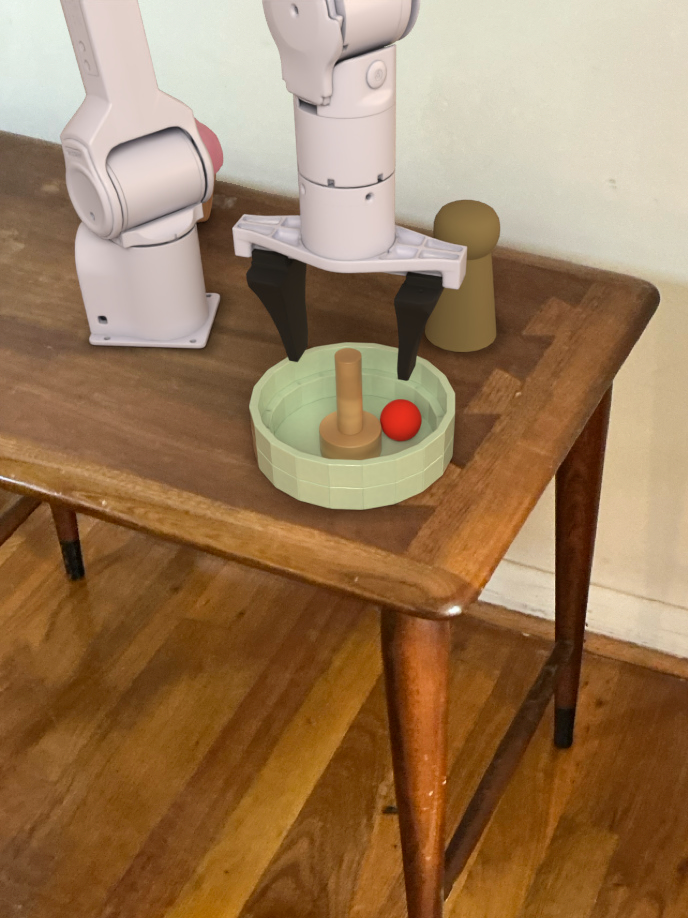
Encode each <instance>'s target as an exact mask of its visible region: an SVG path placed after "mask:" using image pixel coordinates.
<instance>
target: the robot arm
mask: <svg viewBox="0 0 688 918" xmlns="http://www.w3.org/2000/svg"><path fill="white" fill-rule="evenodd" d="M261 2H262V9H263V13H264V18H265V21H266V24H267V27H268V30H269V33H270V35H271V37H272V39H273V41H274V43H275V45H276V48H277V51H278V53H279V58H280V64H281V67H280V68H281V77H282V78H281V79H282V80H283V81H284V82H285V87H286V90H287V92H288V93H290V94H292V102H293V103H292V105H293V120H294V121H293V122H294V133H295V134H294V135H295V150H296V151H295V152H296V167H297V182H298V196H299V198H298V199H299V202H298V203H299V214H294V215H293V214H292V215H291V214H290V215H289V214H288V215H257V214H247V213H244V214H242V216H241V217H240V218H239V219H238V221H236V223H235V224H234V225H233V227H232V228H231V229H232V230H231V231H232V238H233V239H232V240H233V247H234V248H233V249H234V255H235V256H236V257H242V258H251V261H250V267H249V268H248V269H247V271H246V272H245V277H246V283H247V287H248V288H249V289H250V290H251V291H252V292H253V293H254V294H255V296H256V297H257V298H258V299H259V301H260V302H261V303H262V305H263V306H264V308H265V310H266V311H267V313H268V314H269V317H270V318H271V320H272V321H273V324H274V325H275V328H276V330H277V332H278V335H279V337H280V339H281V343H282V345H283V347H284V350H285V352H286V355H287V356H286V357H288V359H289V361H293V362H298V361H299V360H300V358H301V356H302V355H303V353H304V352H305V350H307V348H308V346H309V325H308V315H307V304H306V302H307V301H306V284H307V283H306V282H307V267H308V266H307V265H309V266H312V267H315V268H316V269H320V270H323V271H327V272H331V273H338V274H339V273H340V274H361V273H362V274H365V273H367V274H368V273H383V274H389V275H396V276H402V277H405V279H404V281H403V283H401V285H400V287H399V289H398V291H397V293H396V294H395V296H394V297H393V307H394V311H395V318H396V327H397V336H398V345H397V346H398V347H397V348H398V360H397V376H398V380H404V381H408V380H409V378H410V376H411V374H412V372H413V370H414V368H415V365H416V358H417V356H418V353H419V349H420V348H419V347H420V344H421V341H422V338H423V334H424V332H425V326H426V323H427V321H428V318H429V317H430V315H431V313H432V311H433V310H434V308H435V306H436V304H437V302H438V300H439V298H440V296H441V294H442V292H443V290H444V288H450V289H456V290H458V289H459V288H460V285H461V284H462V281H463V279H464V277H465V274H466V260H467V246H462V245H456V244H452V243H448V242H444V241H441V240H438V239H435V238H434V237H432V236H429V235H426V234H423V233H420V232H418V231H415V230H411V229H409V228H406V227H403V226H400V225H398V224H396V165H397V164H396V163H397V162H396V161H397V137H396V136H397V130H396V129H397V44H396V43H397V42H398V41H401V40H403V39H405V37H407V36H409V34H410V33H411V32H412V30H413V29H414V27H415V25H416V22H417V20H418V16H419V13H420V8H421V0H261ZM59 3H60V6H61V9H62V13H63V17H64V20H65V24H66V26H67V30H68V34H69V38H70V42H71V46H72V49H73V53H74V56H75V60H76V63H77V67H78V71H79V75H80V78H81V81H82V85H83V89H84V92H85V97H84V99H83V101H82V102H81V104H80V105H79V107H78V108H77V110H76V111H75V112H74V113H73V115H72V116H71V118H69V120H68V122H67V123H66V125H65V126H64V127H63V129H62V131H61V133H60V135H59V139H60V142H61V149H62V153H63V158H64V165H65V184H66V185H65V186H66V189H67V193H68V197H69V199H70V201H71V204H72V207H73V209H74V211H75V212H76V214H77V216H78V218H79V219H80V220H81V222H80V223H79V225H78V227H77V230H76V234H75V240H74V262H75V263H74V264H75V270H76V276H77V280H78V284H79V288H80V293H81V297H82V302H83V306H84V310H85V314H86V318H87V322H88V327H89V331H90V335H89V337H88V342H89V344H90V345H91V346H106V347H107V346H108V347H109V346H111V347H112V346H113V347H139V348H141V347H145V348H172V349H173V348H174V349H175V348H177V349H203V348H205V347H206V345H207V343H208V341H209V336H210V333H211V330H212V327H213V325H214V321H215V318H216V316H217V315H216V314H217V311H218V308H219V305H220V302H221V295H220V294H219V293H217V292H207V291H206V284H205V283H206V282H205V277H204V270H203V269H204V268H203V262H202V255H201V249H200V241H199V240H200V239H199V232H198V227H197V223H196V221H198V220H199V219H201V218H203V217H204V216H203V208H202V204H203V203H205V202H207V201H208V200H209V199H210V197H211V195H212V192H213V193H214V191H213V187H214V188H215V184H214V169H213V164H212V160H211V157H210V155H209V152H208V150H207V148H206V146H205V144H204V142H203V141H202V139H201V136H200V134H199V131H198V128H197V125H196V122H195V119H194V117H195V115H194V111H193V109H192V107H190V106H188V105H187V104H186V103H185V102H183V101H182V100H180V99H178V98H177V97H175V96H172V95H170V94H169V93H167V92H165V91H163V90H161V89H160V88H159V85H158V81H157V77H156V72H155V67H154V64H153V60H152V55H151V51H150V47H149V43H148V38H147V34H146V30H145V26H144V20H143V17H142V13H141V8H140V5H139V1H138V0H59Z"/></svg>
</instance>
